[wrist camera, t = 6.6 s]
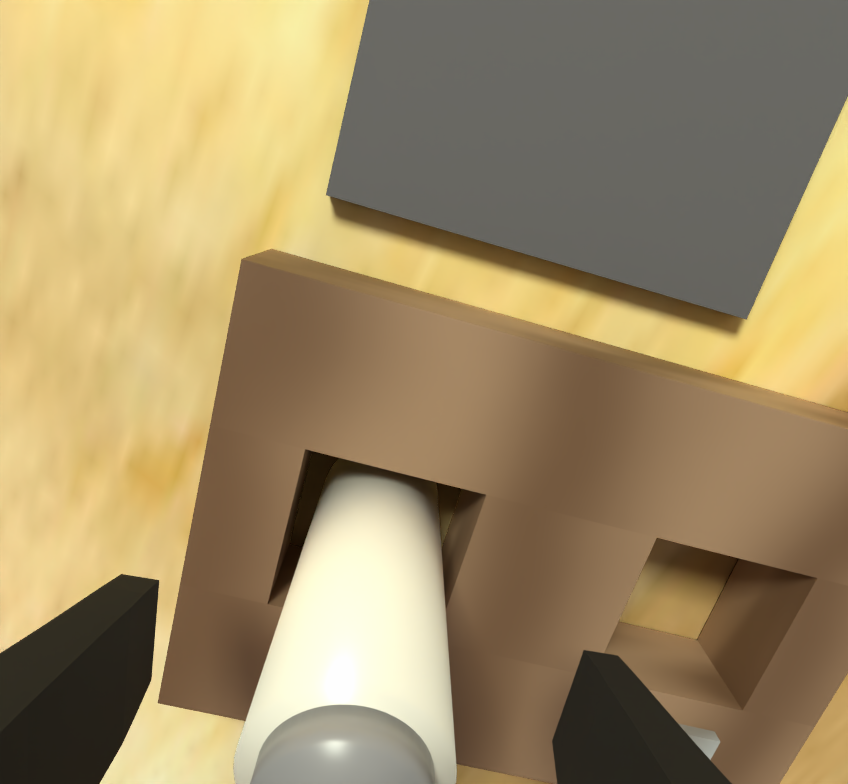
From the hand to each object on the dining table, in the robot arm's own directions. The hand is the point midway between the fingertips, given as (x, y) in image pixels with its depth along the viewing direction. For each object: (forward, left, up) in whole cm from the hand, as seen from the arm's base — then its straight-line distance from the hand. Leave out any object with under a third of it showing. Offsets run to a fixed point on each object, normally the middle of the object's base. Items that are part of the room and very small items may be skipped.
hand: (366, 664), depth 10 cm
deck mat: (-2, -11, -6) cm, 13 cm away
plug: (0, 0, -6) cm, 6 cm away
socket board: (-4, 0, -6) cm, 7 cm away
